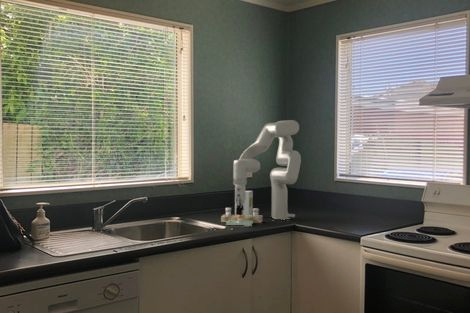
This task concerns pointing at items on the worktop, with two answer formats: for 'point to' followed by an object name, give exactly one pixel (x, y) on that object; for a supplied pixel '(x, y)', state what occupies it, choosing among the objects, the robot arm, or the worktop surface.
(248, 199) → the supplement box
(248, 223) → the tray
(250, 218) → the fuse block
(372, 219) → the worktop surface
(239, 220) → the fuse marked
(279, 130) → the robot arm
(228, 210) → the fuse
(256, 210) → the fuse
